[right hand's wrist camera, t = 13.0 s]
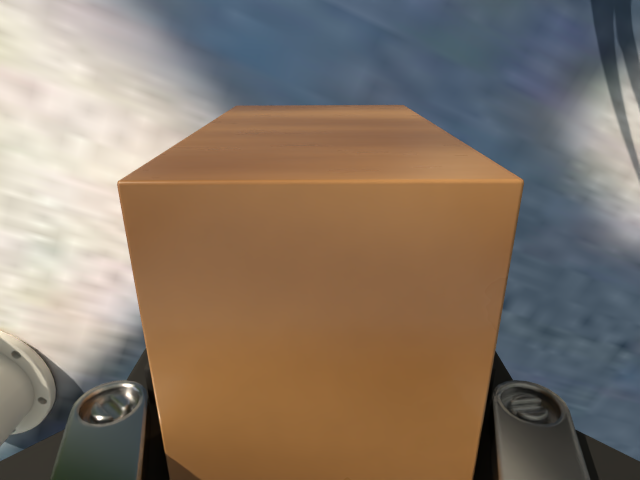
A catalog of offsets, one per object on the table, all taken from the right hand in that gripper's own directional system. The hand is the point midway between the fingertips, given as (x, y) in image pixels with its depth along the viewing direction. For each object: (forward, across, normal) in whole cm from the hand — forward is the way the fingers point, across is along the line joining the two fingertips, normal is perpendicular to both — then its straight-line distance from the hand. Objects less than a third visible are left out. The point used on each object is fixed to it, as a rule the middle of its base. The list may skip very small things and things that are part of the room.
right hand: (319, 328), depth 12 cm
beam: (+4, 0, -34) cm, 34 cm away
